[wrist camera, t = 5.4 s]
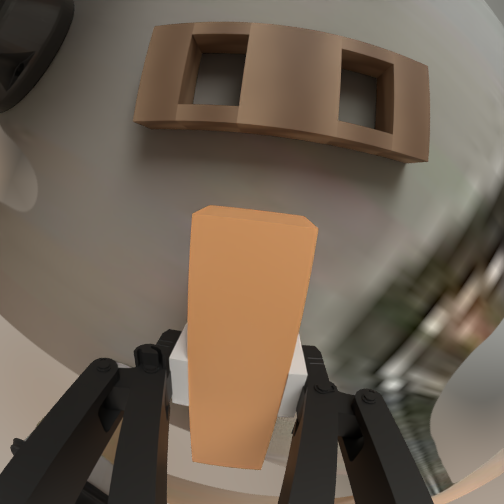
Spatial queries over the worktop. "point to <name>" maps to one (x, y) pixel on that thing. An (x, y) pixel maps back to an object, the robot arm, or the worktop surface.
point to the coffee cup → (98, 484)
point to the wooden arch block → (242, 327)
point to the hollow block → (286, 87)
